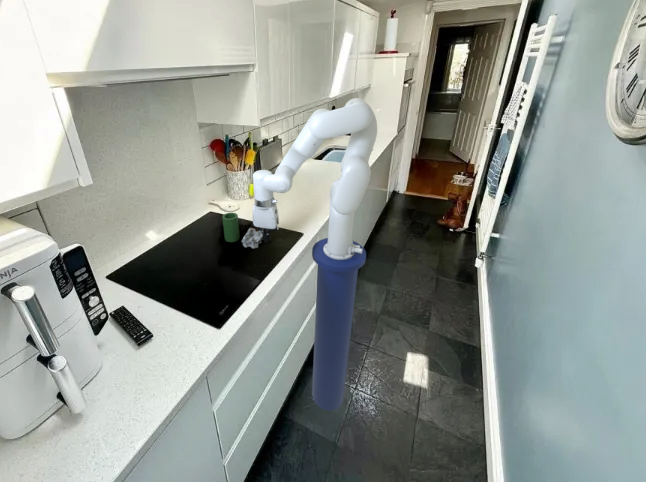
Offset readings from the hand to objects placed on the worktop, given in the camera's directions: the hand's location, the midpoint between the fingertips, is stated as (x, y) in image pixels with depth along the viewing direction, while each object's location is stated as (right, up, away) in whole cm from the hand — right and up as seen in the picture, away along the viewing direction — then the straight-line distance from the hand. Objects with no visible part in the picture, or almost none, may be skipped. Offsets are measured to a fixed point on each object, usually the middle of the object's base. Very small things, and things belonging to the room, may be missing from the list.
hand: (266, 240), depth 129 cm
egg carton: (-6, -1, +2) cm, 6 cm away
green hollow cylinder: (-15, +1, +5) cm, 16 cm away
